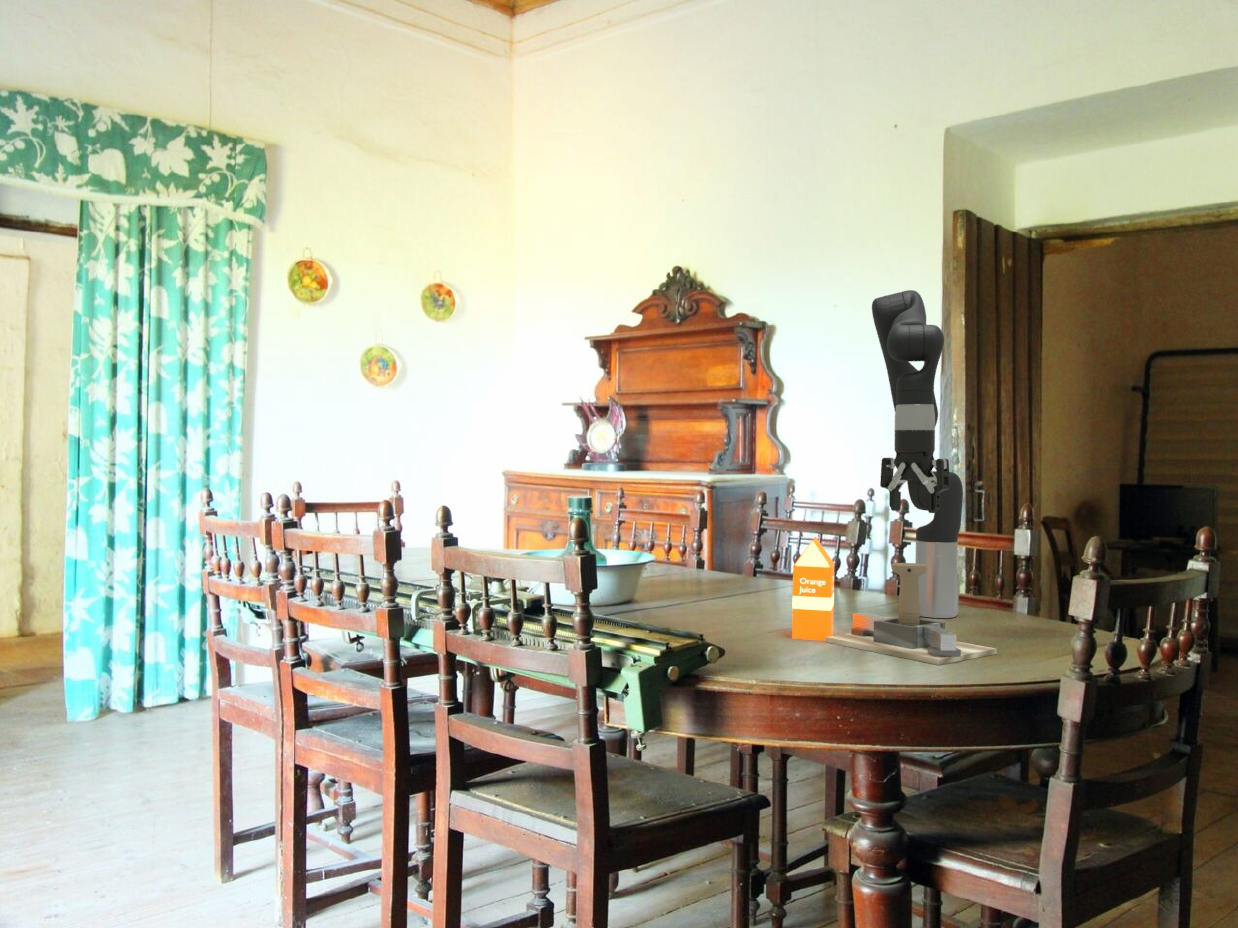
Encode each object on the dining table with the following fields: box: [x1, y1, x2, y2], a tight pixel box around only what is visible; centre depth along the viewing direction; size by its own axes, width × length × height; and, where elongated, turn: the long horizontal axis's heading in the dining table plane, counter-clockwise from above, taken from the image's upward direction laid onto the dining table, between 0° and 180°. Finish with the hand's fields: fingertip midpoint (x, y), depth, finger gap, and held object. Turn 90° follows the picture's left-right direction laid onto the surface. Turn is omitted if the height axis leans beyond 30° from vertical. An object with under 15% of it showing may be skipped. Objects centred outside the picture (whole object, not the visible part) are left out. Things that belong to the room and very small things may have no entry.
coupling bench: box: [825, 617, 998, 666], centre depth 198 cm, size 18×26×5 cm
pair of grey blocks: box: [850, 612, 961, 657], centre depth 196 cm, size 10×26×4 cm, turn 38°
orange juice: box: [791, 536, 835, 642], centre depth 209 cm, size 8×9×20 cm
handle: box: [891, 562, 927, 627], centre depth 198 cm, size 5×6×15 cm
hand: (914, 511), depth 200 cm, fingers open, 8 cm apart
